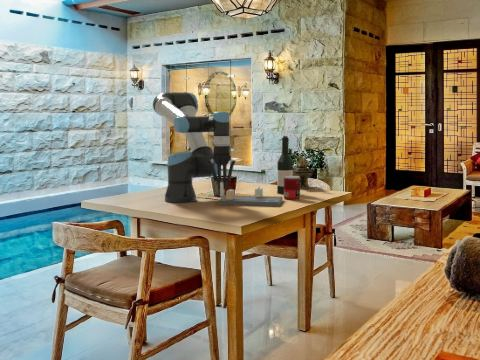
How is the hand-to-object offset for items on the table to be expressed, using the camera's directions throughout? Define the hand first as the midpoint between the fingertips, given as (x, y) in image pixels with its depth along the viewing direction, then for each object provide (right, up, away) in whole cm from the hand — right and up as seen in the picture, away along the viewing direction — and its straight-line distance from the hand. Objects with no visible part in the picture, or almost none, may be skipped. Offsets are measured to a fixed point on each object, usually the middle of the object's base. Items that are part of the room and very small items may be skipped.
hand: (222, 196), depth 242 cm
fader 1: (+4, -1, 0) cm, 4 cm away
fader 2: (+17, 0, +7) cm, 18 cm away
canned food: (+34, -2, +14) cm, 37 cm away
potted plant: (+42, +3, +51) cm, 66 cm away
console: (+13, -3, +3) cm, 14 cm away
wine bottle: (+32, 0, +31) cm, 45 cm away
